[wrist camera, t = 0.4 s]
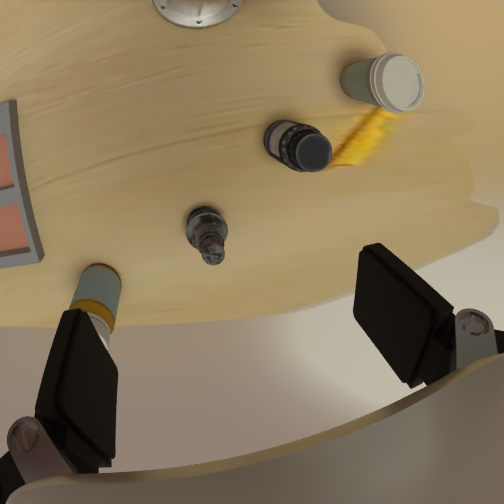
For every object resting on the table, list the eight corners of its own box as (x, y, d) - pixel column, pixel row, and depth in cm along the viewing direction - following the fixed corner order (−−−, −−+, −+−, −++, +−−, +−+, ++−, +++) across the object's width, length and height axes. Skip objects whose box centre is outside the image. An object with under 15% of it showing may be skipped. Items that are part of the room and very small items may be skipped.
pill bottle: (309, 142, 44) (346, 157, 35) (280, 168, 45) (310, 189, 36) (285, 111, 41) (319, 116, 32) (254, 137, 42) (279, 150, 33)
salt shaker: (199, 247, 48) (209, 291, 38) (177, 219, 45) (180, 258, 35) (231, 226, 48) (249, 265, 38) (210, 196, 45) (223, 229, 34)
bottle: (92, 302, 48) (76, 366, 35) (75, 268, 44) (50, 329, 31) (127, 292, 49) (119, 358, 36) (112, 257, 45) (95, 318, 32)
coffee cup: (352, 117, 44) (400, 127, 34) (321, 74, 40) (367, 71, 29) (385, 89, 42) (436, 94, 32) (358, 47, 38) (407, 40, 28)
